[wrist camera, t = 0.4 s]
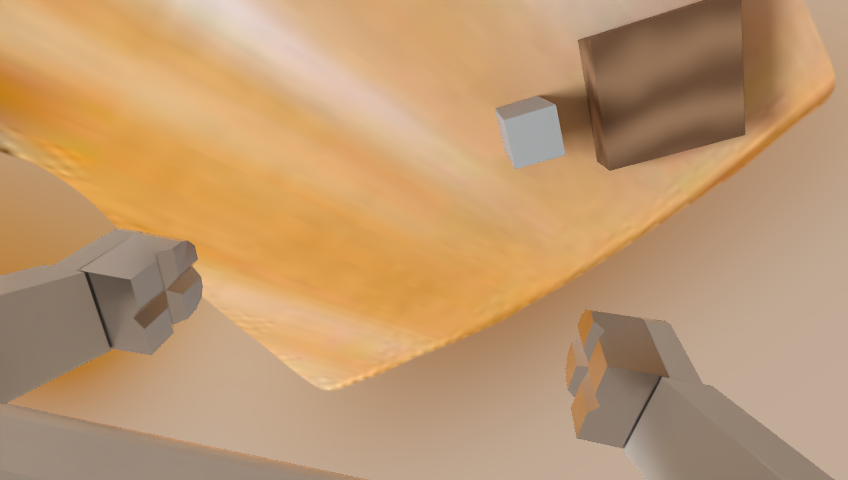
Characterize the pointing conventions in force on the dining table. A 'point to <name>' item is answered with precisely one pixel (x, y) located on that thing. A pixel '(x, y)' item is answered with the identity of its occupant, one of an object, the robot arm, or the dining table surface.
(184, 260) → the robot arm
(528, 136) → the slate block
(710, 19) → the walnut block
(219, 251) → the dining table surface
